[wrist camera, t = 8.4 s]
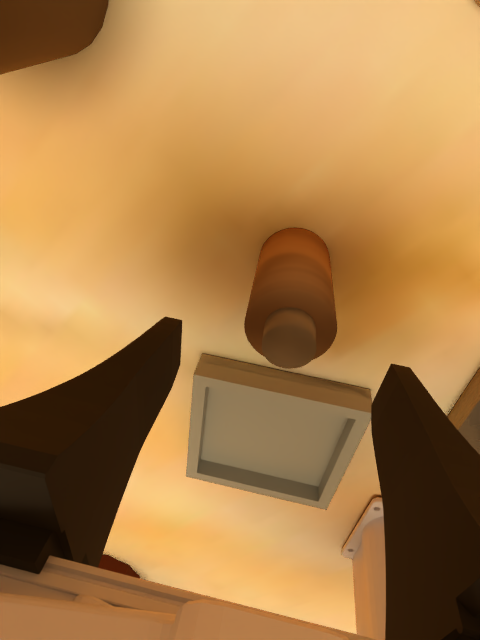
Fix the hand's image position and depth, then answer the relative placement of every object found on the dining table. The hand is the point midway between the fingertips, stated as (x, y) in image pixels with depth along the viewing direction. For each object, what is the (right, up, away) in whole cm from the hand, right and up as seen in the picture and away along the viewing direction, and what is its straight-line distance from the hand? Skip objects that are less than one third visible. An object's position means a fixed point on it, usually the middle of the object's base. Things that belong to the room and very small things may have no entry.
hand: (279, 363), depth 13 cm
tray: (+1, -6, +14) cm, 15 cm away
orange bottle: (+1, +5, +7) cm, 8 cm away
